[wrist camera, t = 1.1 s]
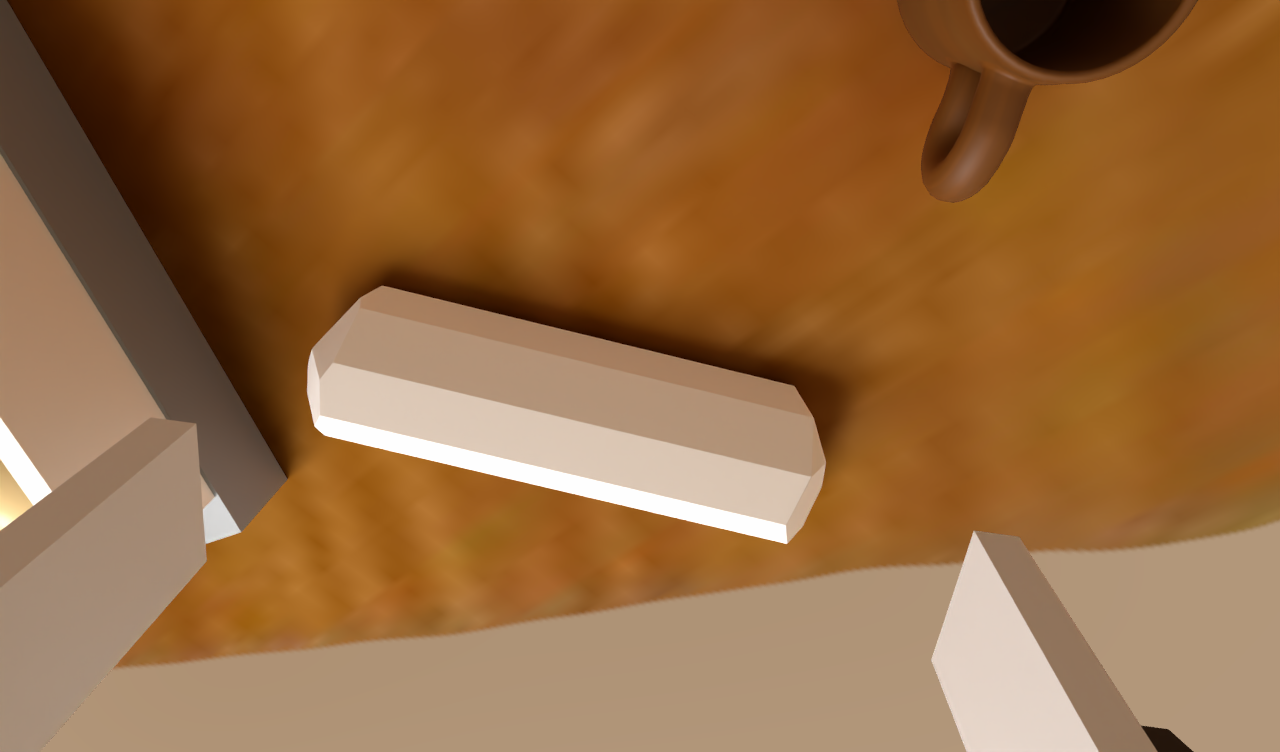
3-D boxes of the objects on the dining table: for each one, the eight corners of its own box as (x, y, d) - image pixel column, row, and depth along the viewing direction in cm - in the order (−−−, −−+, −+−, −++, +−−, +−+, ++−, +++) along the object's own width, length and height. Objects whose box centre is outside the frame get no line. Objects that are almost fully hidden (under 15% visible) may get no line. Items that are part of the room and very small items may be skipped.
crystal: (287, 481, 40) (788, 597, 41) (262, 392, 34) (843, 529, 36) (346, 359, 45) (795, 466, 46) (332, 262, 39) (845, 387, 40)
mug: (974, 201, 38) (1062, 254, 29) (812, 138, 37) (852, 172, 28) (1126, -94, 33) (1284, -137, 24) (945, -172, 32) (1041, -244, 24)
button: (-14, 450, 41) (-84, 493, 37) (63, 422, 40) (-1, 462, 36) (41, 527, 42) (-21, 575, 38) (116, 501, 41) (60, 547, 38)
